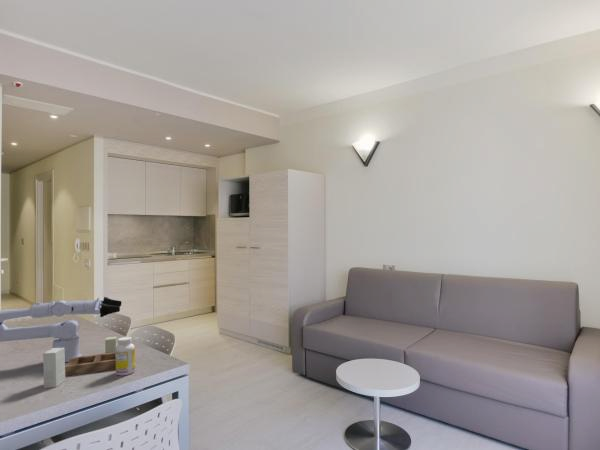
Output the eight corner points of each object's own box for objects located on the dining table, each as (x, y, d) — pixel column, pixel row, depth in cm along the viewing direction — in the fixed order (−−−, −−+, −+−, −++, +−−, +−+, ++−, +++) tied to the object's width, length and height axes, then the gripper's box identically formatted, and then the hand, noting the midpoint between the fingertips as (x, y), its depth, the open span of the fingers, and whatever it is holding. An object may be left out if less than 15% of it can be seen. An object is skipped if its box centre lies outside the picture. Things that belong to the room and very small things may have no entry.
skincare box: (53, 381, 136) (52, 347, 136) (65, 380, 137) (65, 347, 137) (43, 388, 130) (42, 353, 130) (56, 387, 131) (55, 352, 131)
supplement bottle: (129, 368, 148) (129, 334, 148) (138, 371, 144) (138, 337, 144) (112, 373, 143) (111, 339, 143) (120, 377, 139) (120, 342, 139)
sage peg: (105, 359, 159) (105, 339, 159) (106, 356, 163) (106, 337, 163) (116, 357, 161) (115, 338, 161) (116, 354, 164) (116, 336, 164)
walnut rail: (65, 375, 141) (65, 366, 141) (70, 366, 151) (70, 357, 151) (124, 367, 149) (124, 359, 149) (126, 358, 159) (126, 350, 159)
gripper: (82, 303, 155) (119, 302, 159) (88, 293, 168) (122, 292, 173) (81, 320, 155) (118, 318, 160) (88, 309, 169) (121, 307, 174)
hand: (120, 306), depth 167 cm, fingers open, 7 cm apart
